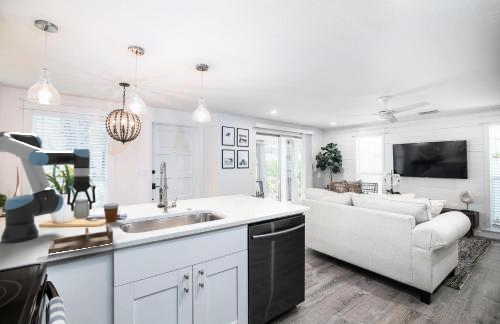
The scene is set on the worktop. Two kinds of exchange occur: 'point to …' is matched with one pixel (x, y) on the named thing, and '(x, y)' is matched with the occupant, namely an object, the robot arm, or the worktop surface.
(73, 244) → the brown wooden tray
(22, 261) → the worktop surface
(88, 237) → the pusher
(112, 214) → the disposable coffee cup
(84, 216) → the jar
